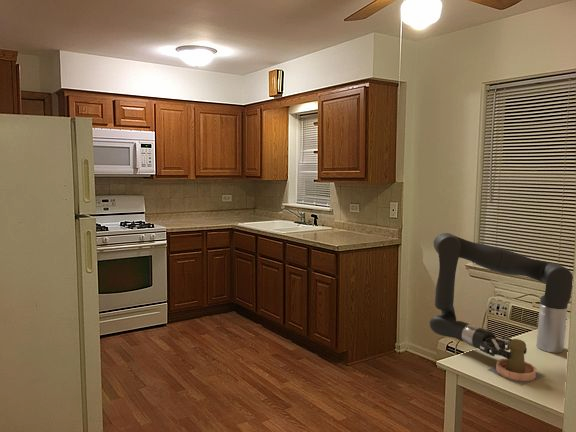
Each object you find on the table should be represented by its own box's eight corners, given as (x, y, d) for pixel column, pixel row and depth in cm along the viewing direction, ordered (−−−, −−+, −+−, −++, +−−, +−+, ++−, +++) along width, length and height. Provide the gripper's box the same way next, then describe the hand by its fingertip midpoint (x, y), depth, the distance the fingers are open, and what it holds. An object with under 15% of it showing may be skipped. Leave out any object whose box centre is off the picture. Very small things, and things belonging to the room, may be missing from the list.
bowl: (510, 362, 172) (511, 355, 172) (543, 376, 162) (543, 369, 162) (488, 369, 166) (489, 363, 166) (521, 384, 156) (521, 377, 156)
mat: (510, 362, 173) (510, 361, 173) (544, 377, 162) (545, 376, 162) (486, 370, 166) (487, 369, 166) (521, 386, 155) (521, 385, 155)
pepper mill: (527, 376, 161) (530, 344, 159) (508, 374, 162) (510, 343, 160) (522, 368, 167) (525, 337, 165) (503, 366, 168) (506, 336, 166)
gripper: (465, 331, 172) (506, 347, 159) (491, 324, 180) (531, 339, 166) (464, 351, 174) (504, 368, 160) (489, 343, 181) (530, 359, 167)
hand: (518, 353), depth 163 cm, fingers open, 8 cm apart
